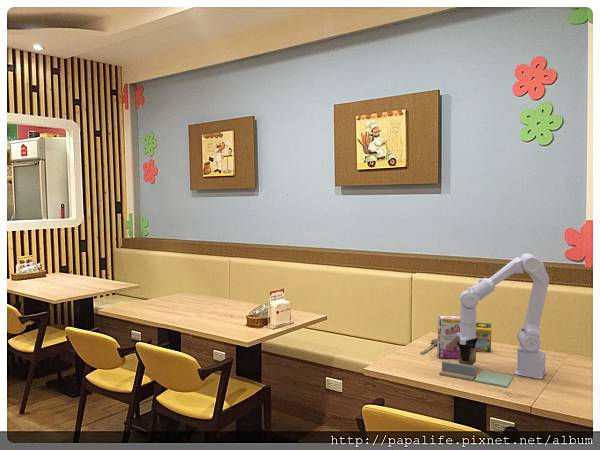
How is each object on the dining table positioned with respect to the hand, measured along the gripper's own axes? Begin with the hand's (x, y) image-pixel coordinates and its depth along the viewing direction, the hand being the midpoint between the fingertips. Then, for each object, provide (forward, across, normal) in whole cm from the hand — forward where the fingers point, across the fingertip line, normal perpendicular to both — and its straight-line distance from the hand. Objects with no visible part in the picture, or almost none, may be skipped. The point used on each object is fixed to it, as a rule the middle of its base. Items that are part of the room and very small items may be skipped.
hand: (467, 358), depth 202 cm
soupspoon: (+5, -20, -20) cm, 28 cm away
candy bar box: (+4, -12, -9) cm, 15 cm away
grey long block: (+4, +9, -1) cm, 10 cm away
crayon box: (+4, -26, -1) cm, 27 cm away
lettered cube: (+2, 0, 0) cm, 2 cm away
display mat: (+4, +6, +11) cm, 13 cm away
